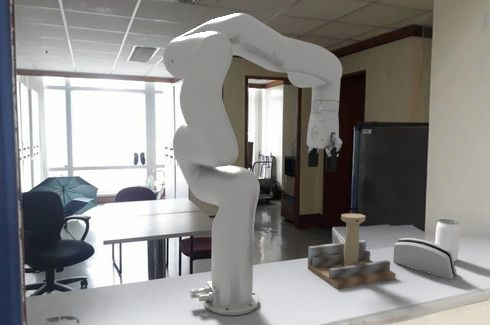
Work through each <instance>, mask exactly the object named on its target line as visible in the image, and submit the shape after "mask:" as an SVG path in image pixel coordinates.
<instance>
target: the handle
mask: <svg viewBox="0 0 490 325" xmlns="http://www.w3.org/2000/svg"><path fill="white" fill-rule="evenodd" d="M340 219H341V221H342V222H344V223H346V224H345V225H346V226H345V227H346V228H345V236H344V242H345V244H344V262H345V263H344V266H351V265H357V262H358V255H359V241H360V225H361V224H362V223H364V222H365V221H366V215H364V214H361V213H351V212H350V213H342V214H341V216H340Z"/></svg>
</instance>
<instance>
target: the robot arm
mask: <svg viewBox="0 0 490 325" xmlns="http://www.w3.org/2000/svg"><path fill="white" fill-rule="evenodd" d="M162 56H163V57H162V58H163V66H164V67H165V70H166V71H167V72H168V73H169V74H170V75H171V76H172V77H173V78H174V77H175V78H176V79H180V80H182V84H181V87H180V90H179V91H180V92H179V106H180V110H181V114H182V117H183V119H184V121H185V123H183V124H182V125H180V126H179V127H178V128H177V129H176V131H175V133H174V135H173V139H172V150H173V155H174V157H175V160H176V162H177V164H178V166H179V169H180V170H181V173H182V175H183V178H184V179H185V181H186V184H187V185H188V188H189V189H190V190H189V191H191V193H192V195H193V196H194V197H195V198H196V199H198V200H200V201H202V202H204V203H206V204H211V205H213V206H217V207H218V211H217V212H216V215H215V217H214V218H213V221H212V224H211V256H210V257H211V262H210V263H211V268H210V269H211V274H210V276H211V278H210V280H209V281H208V280H207V282H206V283H207V284H206V286H205V285H204V286H203V287H202V288H193V289H190V290H189V292H190V293H189V295H190V296H189V297H190V299H198V301H199V302H203V304H204V306H205V307H206V308H207V309H208V310H209V311H211V312H213V313H215V314H218V315H224V316H240V315H244V314H248V313H250V312H253V311H254V310H256V309H257V307H258V306H259V304H260V298H259V295H258V293H256V291H254V290H253V282H254V281H253V278H254V243H255V241H254V239H255V237H254V236H255V235H254V234H255V220H256V219H255V216H256V209H257V205H258V202H259V197H260V189H261V188H260V181H259V178H258V177H257V176H256V174H254V172H252V171H251V170H250V169H248V168H245V167H242V166H237V165H232V164H234V163H235V161H237V158H238V155H239V145H238V144H239V143H238V141H237V138H236V134H235V133H234V130H233V127H232V124H231V122H230V119H229V117H228V114H227V111H226V108H225V105H224V101H223V97H222V96H223V95H222V94H223V91H222V90H223V85H224V81H225V78H226V75H227V73H228V70H229V68H230V66H231V64H232V60H233V56H238V57H241V58H243V59H245V60H247V61H249V62H251V63H252V64H255V65H257V66H259V67H261V68H263V69H265V70H267V71H270V72H277V73H282V74H283V73H286V74H287V78H288V80H289V82H290V84H291V85H293V86H295V87H297V88H301V89H302V88H304V89H305V88H311V104H310V106H311V108H310V115H309V120H308V124H307V132H306V133H307V135H306V139H305V140H306V147H307V153H308V156H307V167H308V168H318V167H319V159H320V158H319V156H320V153H319V151H320V149H321V150H323V149H325V152H326V156H325V169H324V171H325V172H337V168H338V166H337V164H338V157H339V155H340V154H339V153H340V152H341V148H342V145H343V141H342V139H341V138H340V135H339V134H340V129H339V128H340V124H339V108H340V107H339V106H340V94H341V92H340V91H341V90H340V89H341V78H342V76H343V66H342V63H341V61H340V60H339V58H338V57H337V56H336V55H335V54H334V53H332V52H331V51H329V50H328V49H326V48H325V47H323V46H321V45H318V44H315V43H312V42H307V41H303V40H300V39H296V38H292V37H288V36H285V35H282V33H279V32H278V31H276V30H275V29H273V28H271V27H270V26H268V25H267V24H265V23H264V22H262V21H260V20H259V19H257V18H256V17H253V16H252V15H250V14H248V13H245V12H244V13H243V12H241V13H240V12H239V13H233V14H229V15H225V16H221V17H217V18H215V19H211V20H209V21H207V22H205V23H203V24H201V25H199V26H197V27H196V28H194V29H191V30H190V31H188V32H186V33H184V34H182V35H180V36H178V37H176V38H174V39H172V40H171V41H170V42H168V44H167V45H166V46H165V48H164V51H163V55H162Z"/></svg>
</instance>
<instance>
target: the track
mask: <svg viewBox="0 0 490 325" xmlns="http://www.w3.org/2000/svg"><path fill="white" fill-rule="evenodd" d="M344 244H345V241H343V242H337V243H336V242H335V243H326V244H320V245H313V246H312V245H310V246H308V252H307V253H308V254H307V270H309V271H310V272H312V273H313V274H314V275H316V276H317V277H319V278H321V279H322V280H323V281H325V282H326V283H327V284H329V286H332V287H333V288H335V289H336V290H339V289H344V288H345V289H346V288H350V287H356V286H362V285H363V286H364V285H367V284H369V285H370V284H374V283H378V282H385V281H391V280H396V277H397V276H396V274H397V273H395V272H394V271H392V270H391V261H390V260H387V259H386V260H380V261H373V260H371V251H369V250H366V247H367V240H364V239H361V240H360V239H359V255H358V262H357V265H351V266H344V263H345V262H344Z"/></svg>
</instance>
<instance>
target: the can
mask: <svg viewBox="0 0 490 325" xmlns="http://www.w3.org/2000/svg"><path fill="white" fill-rule="evenodd" d="M437 221H438V222H437V223H436V227H435V228H436V229H435V240H434V243H435V244H438V245H440V246H442V247H444V248H446V249H448V250H450V251H451V252H452V256H453V261H455V262H456V261H458V254H459V244H460V230H461V227H460V223H459V221H456V220H454V219H449V218H448V219H447V218H446V219H445V218H440V219H438V220H437Z"/></svg>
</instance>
